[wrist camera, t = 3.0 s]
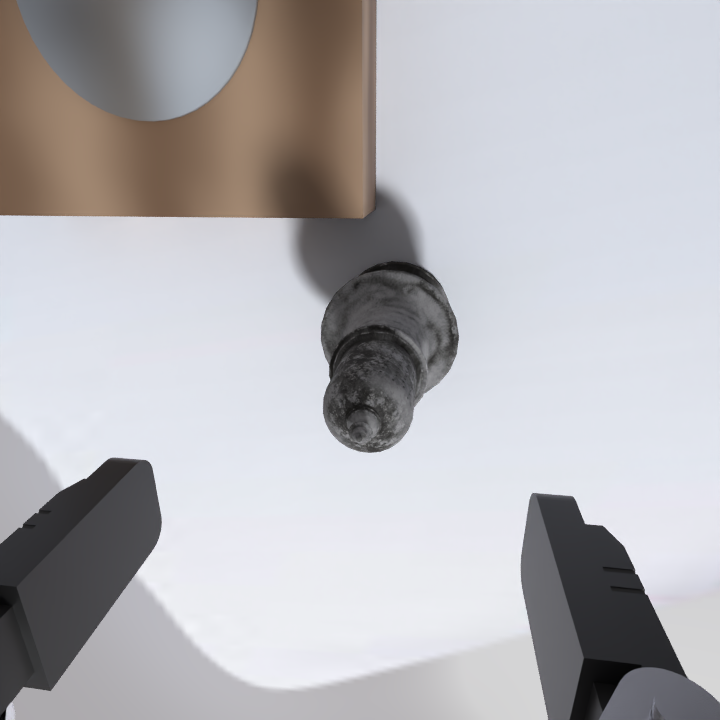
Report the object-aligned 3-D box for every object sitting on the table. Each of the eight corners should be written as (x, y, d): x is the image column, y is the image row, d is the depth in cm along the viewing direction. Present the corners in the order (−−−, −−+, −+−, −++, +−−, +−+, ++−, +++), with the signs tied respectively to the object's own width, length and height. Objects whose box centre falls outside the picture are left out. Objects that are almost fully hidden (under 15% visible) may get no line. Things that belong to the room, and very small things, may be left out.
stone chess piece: (455, 251, 23) (468, 333, 12) (457, 370, 25) (469, 531, 14) (330, 258, 24) (238, 340, 13) (341, 371, 26) (270, 524, 15)
